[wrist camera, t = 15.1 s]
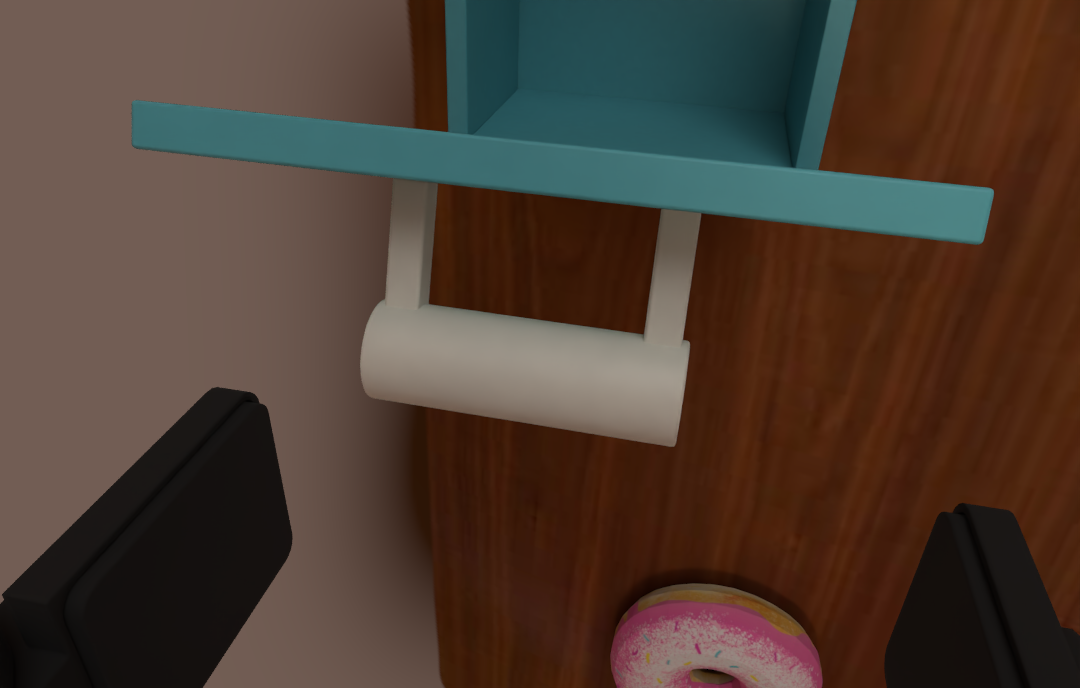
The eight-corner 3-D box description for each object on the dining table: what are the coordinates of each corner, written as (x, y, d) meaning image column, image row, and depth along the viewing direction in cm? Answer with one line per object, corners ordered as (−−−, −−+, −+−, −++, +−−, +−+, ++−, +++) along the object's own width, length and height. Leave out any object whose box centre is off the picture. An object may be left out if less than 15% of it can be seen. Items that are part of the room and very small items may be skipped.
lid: (129, 99, 13) (130, 396, 14) (996, 188, 11) (919, 531, 12) (445, 149, 30) (434, 285, 31) (815, 189, 28) (789, 333, 29)
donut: (787, 722, 56) (791, 790, 52) (603, 676, 58) (593, 739, 54) (843, 595, 49) (853, 663, 45) (631, 547, 51) (621, 608, 47)
